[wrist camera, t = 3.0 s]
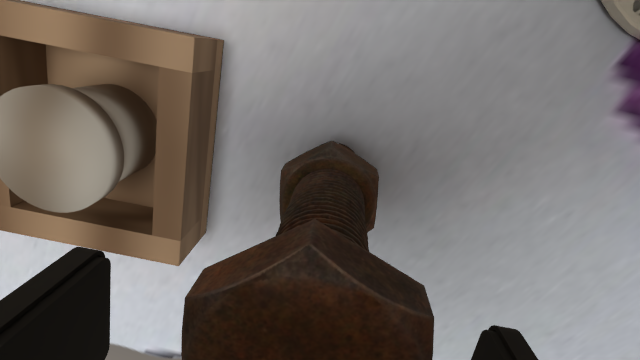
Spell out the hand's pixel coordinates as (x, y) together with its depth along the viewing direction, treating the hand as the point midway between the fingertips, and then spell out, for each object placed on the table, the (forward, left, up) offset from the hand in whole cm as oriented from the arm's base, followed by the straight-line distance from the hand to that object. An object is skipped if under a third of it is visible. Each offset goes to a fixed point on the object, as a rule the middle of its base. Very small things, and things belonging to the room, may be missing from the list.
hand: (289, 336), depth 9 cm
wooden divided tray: (+17, -1, -13) cm, 21 cm away
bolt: (0, 0, -14) cm, 14 cm away
